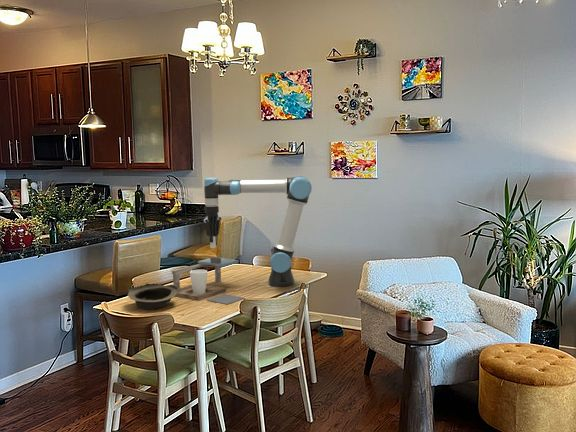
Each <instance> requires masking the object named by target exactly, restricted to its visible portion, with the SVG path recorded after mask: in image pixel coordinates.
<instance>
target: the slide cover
mask: <svg viewBox="0 0 576 432" xmlns="http://www.w3.org/2000/svg"><path fill="white" fill-rule="evenodd" d="M238 263H239V259H233V258H225V257H217V256H216V257H215V256H211V257H209V258H205V259H201V260H198V261H197V264H206V265H208V266H212V267H213V266H214V267H215V266H220V267H222V268H224V267H226V266H227V267H228V266H231V265H235V264H238ZM239 264H240V263H239Z"/></svg>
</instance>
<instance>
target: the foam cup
mask: <svg viewBox="0 0 576 432" xmlns="http://www.w3.org/2000/svg"><path fill="white" fill-rule="evenodd" d="M189 277H190V282H191V283H190V284H191V285H192V289H193V293H192V294H198V295H201V294H204V293H205V291H206V285H207V279H208V270H207V269H192V270H189Z"/></svg>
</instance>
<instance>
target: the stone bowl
mask: <svg viewBox="0 0 576 432" xmlns="http://www.w3.org/2000/svg"><path fill="white" fill-rule="evenodd" d="M177 290H178V289H177V287H175V286H174V285H173V284H167V285H164V284H159V283H145V284H143V285H140V286H139V285H137V286H134V287H132V288H130V289H128V294H127V297H128V298H129V299H130V300H132V301H135V305H136V307H137V308H139V309H142V310H145V311H146V310H158V309H159V308H161V307H164V306H166V305H167V304H168V303H170V302H171V300H172V298H173V297H176V296H175V295H176V294H177Z"/></svg>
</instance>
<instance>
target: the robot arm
mask: <svg viewBox="0 0 576 432" xmlns="http://www.w3.org/2000/svg"><path fill="white" fill-rule="evenodd" d="M203 182H204V183H203V188H204V189H203V190H204V191H203V192H204V205H205V206H204V212H205V218H204V219H202V222H203V224H204V229H205V234H206V236H207V237H208V238H209V246H210V247H209V248H210V249H216V247H217V244H216V241H217V237H218V235H219V233H220V227H221V225H220V224H221V220H222V217H220V216H219V212H220V211H219V210H220V207H219V196H230V195H231V196H236V195H240V194H270V193H271V194H272V193H273V194H275V193H276V194H278V193H279V194H281V193H282V194H286V199H287V202H288V203H287V207H286V210H285V215H284V216H283V217H284V218H283V221H282V226H281V229H280V233H279V237H278V239H277V242H276V244H273V245H271V247H270V258H269V266H270V269H271V272H270V275H269V278H268V285H269V286H272V287H277V288H278V287H281V288H282V287H291V286H294V285H295V278H294V275H293V272H292V261H293V257H294V253H295V250H294V248H293V246H294V242H295V238H296V236H297V233H298V232H297V231H298V227H299V224H300V220H301V217H302V213H303V209H304V207H305V205H307V204H308V203H309V202H308V201H309V198H310V195H311V193H312V190H313V188H312V183H311V181H310V180H309V179H308V178H307V177H306V176H303V175H302V176H301V175H300V176H293V177H285V178H284V179H230V180H225V181H223V180H222V181H219V179H218V177H206V178H204V181H203Z"/></svg>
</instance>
